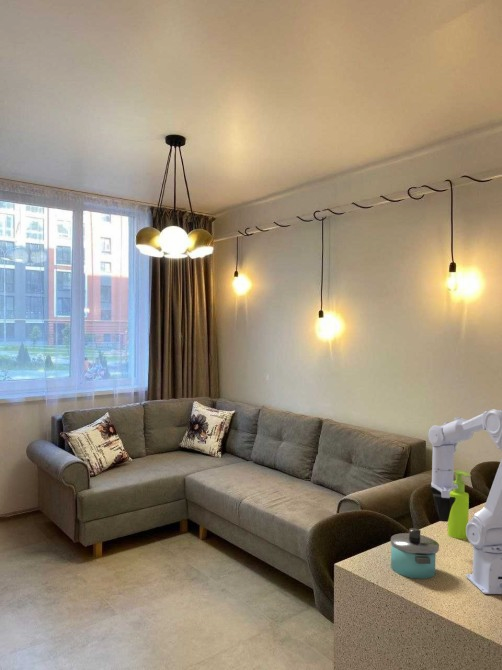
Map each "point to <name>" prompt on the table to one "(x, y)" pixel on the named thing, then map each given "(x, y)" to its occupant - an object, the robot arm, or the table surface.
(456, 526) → the soap dispenser
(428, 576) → the pot
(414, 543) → the lid
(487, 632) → the table surface
